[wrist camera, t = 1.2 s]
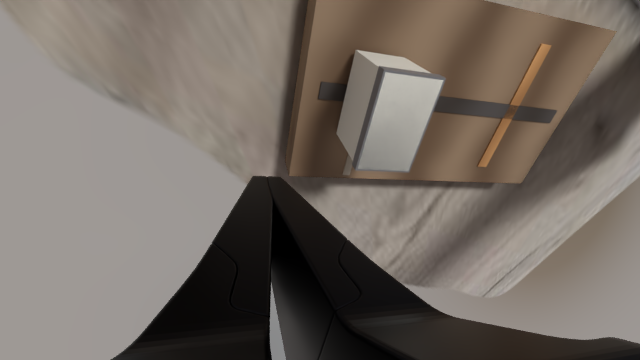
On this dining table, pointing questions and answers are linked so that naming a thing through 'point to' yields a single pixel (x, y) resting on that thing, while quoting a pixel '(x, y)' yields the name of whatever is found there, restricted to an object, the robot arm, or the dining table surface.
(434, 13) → the fader console
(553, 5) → the dining table surface
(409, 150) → the fader tab
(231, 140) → the dining table surface
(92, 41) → the dining table surface
